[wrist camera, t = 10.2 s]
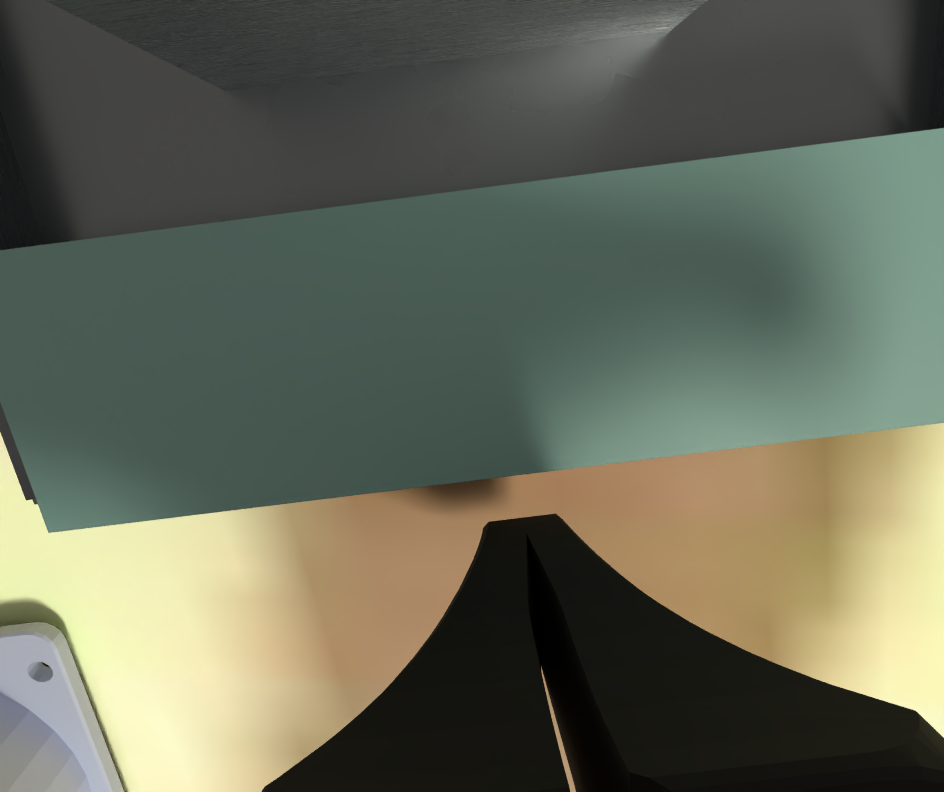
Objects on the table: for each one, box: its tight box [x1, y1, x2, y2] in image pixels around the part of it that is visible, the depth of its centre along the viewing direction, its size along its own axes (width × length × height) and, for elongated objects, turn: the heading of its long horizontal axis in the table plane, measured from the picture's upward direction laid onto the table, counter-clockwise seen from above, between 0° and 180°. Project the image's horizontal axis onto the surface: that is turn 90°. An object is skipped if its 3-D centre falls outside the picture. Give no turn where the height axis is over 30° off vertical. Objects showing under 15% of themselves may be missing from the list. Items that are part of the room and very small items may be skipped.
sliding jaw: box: [0, 128, 944, 533], centre depth 9 cm, size 4×14×2 cm, turn 97°
